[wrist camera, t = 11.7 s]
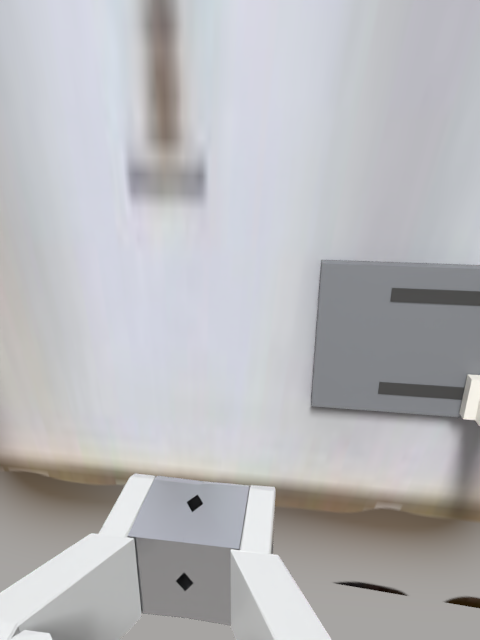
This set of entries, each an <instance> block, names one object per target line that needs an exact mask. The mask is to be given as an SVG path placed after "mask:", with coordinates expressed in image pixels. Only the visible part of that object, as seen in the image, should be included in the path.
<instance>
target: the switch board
mask: <svg viewBox="0 0 480 640" xmlns="http://www.w3.org/2000/svg"><path fill="white" fill-rule="evenodd" d="M468 374H470V375H480V265H458V264H429V263H400V262H370V261H341V260H321V273H320V286H319V300H318V314H317V327H316V341H315V354H314V368H313V382H312V395H311V403H312V406H315V407H328V408H342V409H355V410H369V411H382V412H396V413H409V414H423V415H436V416H449V417H461V415H460V414H459V413H460V408H461V403H462V398H463V394H464V389H465V384H466V379H467V375H468Z"/></svg>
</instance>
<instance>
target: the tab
mask: <svg viewBox="0 0 480 640" xmlns="http://www.w3.org/2000/svg"><path fill="white" fill-rule="evenodd" d="M459 414H460V415H461V417H462V418H463V419H466V420H475V421H476V422H477V424H478V425H479V427H480V375H470V374H468V375H467V379H466V384H465V389H464V394H463V398H462V403H461V408H460V413H459Z"/></svg>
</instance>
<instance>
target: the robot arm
mask: <svg viewBox="0 0 480 640" xmlns="http://www.w3.org/2000/svg"><path fill="white" fill-rule="evenodd" d="M275 491H276V490H275V487H268V486H255V485H251V486H249V485H238V484H227V483H215V482H203V481H196V480H188V479H180V478H171V477H163V476H151V475H143V474H134V475H132V476H131V477H130V478H129V479H128V481H127V483H126V485H125V487H124V489H123V490H122V492H121V494H120V496H119V497H118V500H117V501H116V503H115V505H114V506H113V508H112V510H111V512H110V514H109V515H108V517H107V519H106V521H105V523H104V525H103V526H102V528H101V530H100V532H99V533H98V534H93V533H91V534H89V535H88V536H86V537H85V538H83V539H82V540H80V541H78V542H77V543H76V544H74V545H73V546H71V547H69V548H68V549H66V550H65V551H64V552H62V553H60V554H59V555H57V556H56V557H54V558H53V559H51V560H49V561H48V562H46V563H45V564H43V565H42V566H40V567H39V568H37V569H36V570H34V571H33V572H31V573H30V574H28V575H27V576H25V577H24V578H22V579H21V580H19V581H18V582H16V583H14V584H13V585H11V586H10V587H9V588H7V589H5V590H4V591H2V592H1V593H0V640H120V639H121V638H122V637H123V636H124V635H125V634H126V633H127V632H128V631H129V630H130V629H131V628H132V627H133V625H134V624H135V623H136V622H137V621H138V620H139V619H140V618H141V617H142V613H143V614H153V615H162V616H172V617H181V618H189V619H195V620H201V621H207V622H212V623H219V624H225V625H230V626H231V630H232V632H233V635H234V638H235V640H331V638H330V636H329V635H328V633H327V632H326V630H325V629H324V627H323V625H322V624H321V622H320V620H319V619H318V617H317V616H316V614H315V613H314V611H313V609H312V608H311V606H310V605H309V603H308V601H307V600H306V598H305V597H304V595H303V593H302V592H301V590H300V588H299V587H298V585H297V584H296V582H295V581H294V579H293V577H292V576H291V575H290V573H289V571H288V570H287V568H286V566H285V564H284V563H283V561H282V560H281V558H280V557H279V555H274V554H273V537H274V514H275Z"/></svg>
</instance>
